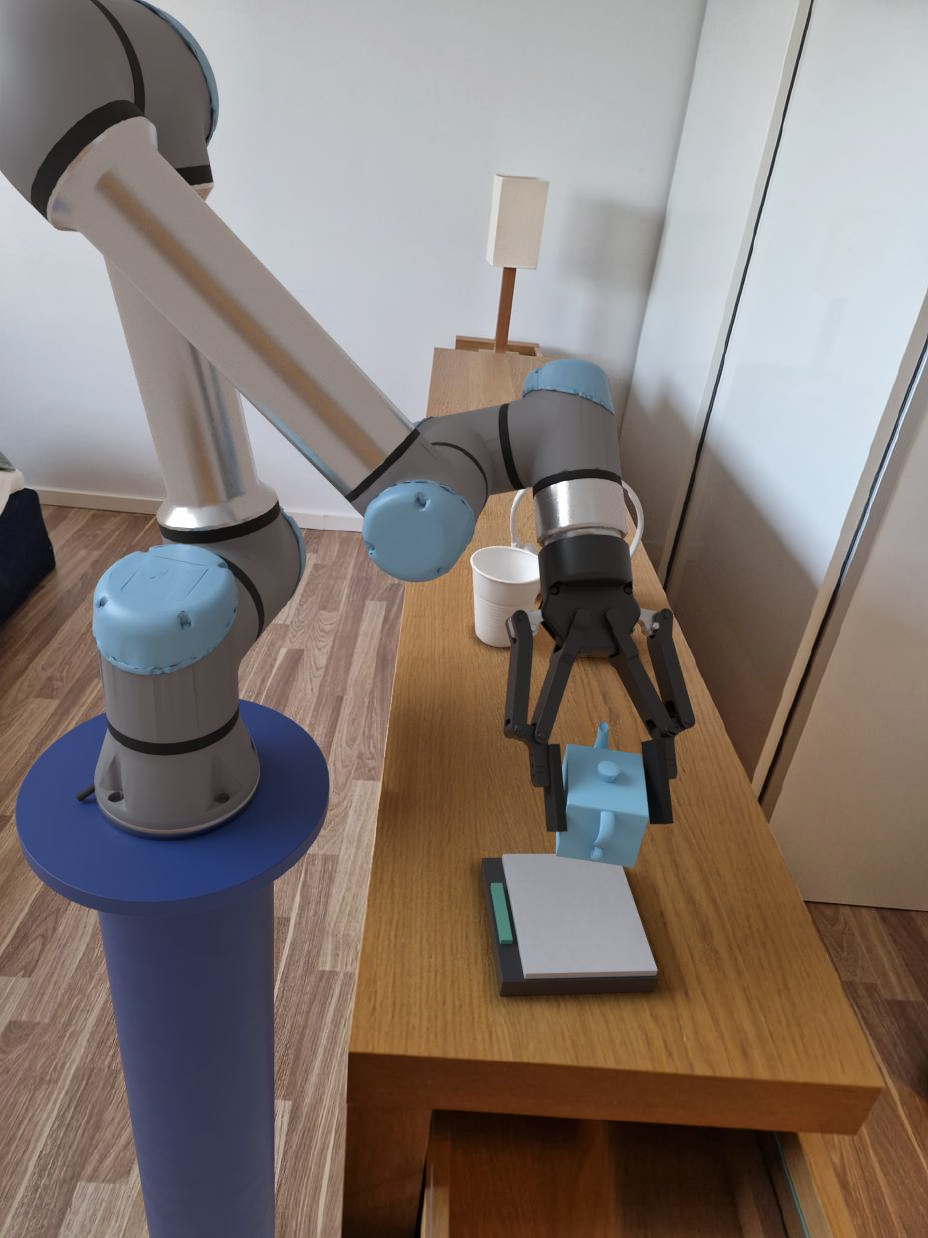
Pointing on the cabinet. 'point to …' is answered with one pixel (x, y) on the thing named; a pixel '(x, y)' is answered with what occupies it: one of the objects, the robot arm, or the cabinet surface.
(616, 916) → the scale
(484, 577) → the cup
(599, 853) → the teapot
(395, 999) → the cabinet surface
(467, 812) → the cabinet surface
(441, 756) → the cabinet surface
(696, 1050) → the cabinet surface
